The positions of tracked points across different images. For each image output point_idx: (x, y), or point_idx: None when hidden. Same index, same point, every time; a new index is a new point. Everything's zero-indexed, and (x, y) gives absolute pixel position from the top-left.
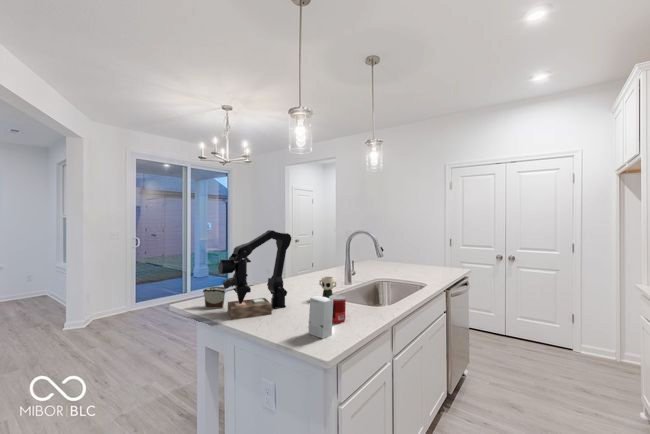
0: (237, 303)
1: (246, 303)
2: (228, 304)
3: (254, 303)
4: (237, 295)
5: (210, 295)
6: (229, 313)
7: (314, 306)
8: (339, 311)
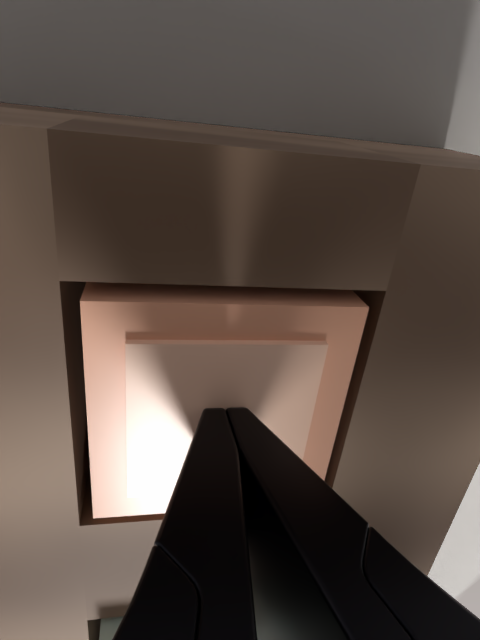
0: (267, 372)
1: None
2: (462, 164)
3: (116, 626)
4: (373, 571)
5: None
6: (232, 128)
7: None
8: None
